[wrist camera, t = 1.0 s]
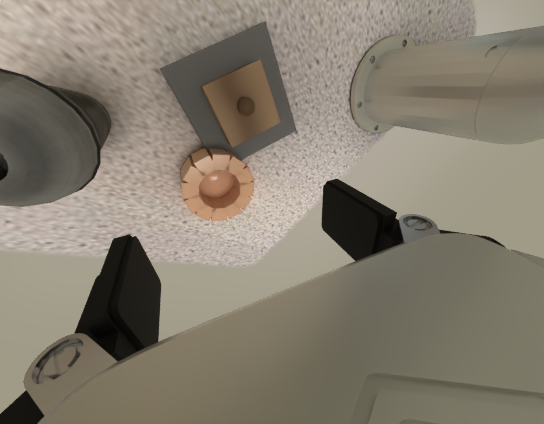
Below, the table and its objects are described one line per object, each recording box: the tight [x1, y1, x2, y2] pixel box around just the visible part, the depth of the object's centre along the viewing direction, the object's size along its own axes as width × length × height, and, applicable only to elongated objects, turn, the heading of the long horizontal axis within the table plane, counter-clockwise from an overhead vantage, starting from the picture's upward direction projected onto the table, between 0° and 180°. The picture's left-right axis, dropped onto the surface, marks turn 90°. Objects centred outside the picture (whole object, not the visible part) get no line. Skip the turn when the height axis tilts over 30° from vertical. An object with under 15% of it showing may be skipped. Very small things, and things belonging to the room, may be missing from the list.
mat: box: [160, 22, 296, 171], centre depth 26 cm, size 12×12×1 cm
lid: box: [200, 59, 281, 148], centre depth 24 cm, size 7×7×3 cm
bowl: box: [180, 147, 254, 221], centre depth 28 cm, size 9×9×4 cm
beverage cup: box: [0, 69, 111, 207], centre depth 14 cm, size 7×7×20 cm
